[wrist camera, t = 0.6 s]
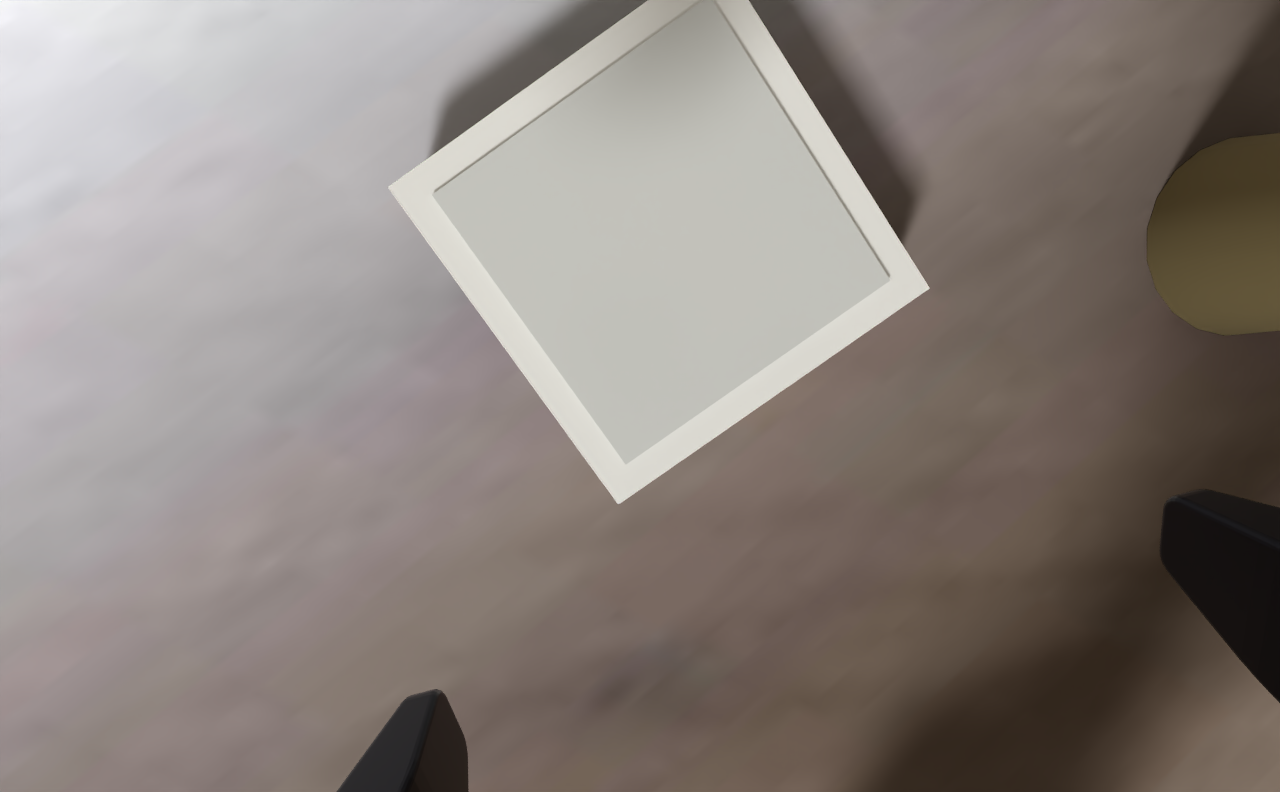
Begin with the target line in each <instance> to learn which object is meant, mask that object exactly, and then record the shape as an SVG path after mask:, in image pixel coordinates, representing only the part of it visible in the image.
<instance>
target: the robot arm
mask: <svg viewBox="0 0 1280 792" xmlns="http://www.w3.org/2000/svg"><path fill="white" fill-rule="evenodd" d="M1160 556H1161V560H1162V562H1163V565H1164V566H1165V568H1166V570H1167V571H1168V573H1169V574H1170V575H1171V576H1172V578H1173V579H1174V580H1175V581H1176V583H1177V584H1178V585H1179V586H1180V587H1181V589H1182V590H1183V591H1184V592H1185V593H1186V595H1187V596H1188V597H1189V598H1190V600H1191V601H1192V602H1193V603H1194V604H1195V606H1196V607H1197V608H1198V609H1199V610H1200V612H1201V613H1202V614H1203V615H1204V616H1205V618H1206V619H1207V620H1208V621H1209V623H1210V624H1211V625H1212V626H1213V627H1214V629H1215V630H1216V631H1217V632H1218V633H1219V635H1220V636H1221V637H1222V638H1223V640H1224V641H1225V642H1226V643H1227V644H1228V646H1229V647H1230V648H1231V649H1232V650H1233V652H1234V653H1235V654H1236V655H1237V657H1238V658H1239V659H1240V660H1241V661H1242V662H1243V664H1244V665H1245V666H1246V667H1247V668H1248V669H1249V670H1250V672H1251V673H1252V674H1253V675H1254V676H1255V677H1256V678H1257V680H1258V681H1259V682H1260V683H1261V684H1262V685H1263V686H1264V687H1265V688H1266V689H1267V690H1268V691H1269V692H1270V693H1271V694H1272V695H1273V696H1274V697H1275V698H1276V700H1277V701H1278V702H1279V703H1280V508H1279V507H1275V506H1271V505H1267V504H1263V503H1259V502H1255V501H1251V500H1247V499H1243V498H1239V497H1235V496H1231V495H1227V494H1223V493H1220V492H1216V491H1212V490H1207V489H1199V490H1194V491H1190V492H1186V493H1182V494H1178V495H1174V496H1172V497H1170V498H1169V499H1168V500H1167V501H1166V503H1165V504H1164V508H1163V517H1162V528H1161V538H1160ZM337 792H468V753H467V746H466V741H465V738H464V735H463V732H462V730H461V728H460V726H459V724H458V721H457V719H456V717H455V715H454V713H453V710H452V708H451V706H450V704H449V702H448V699H447V697H446V695H445V694H444V693H443V692H442V691H441V690H438V689H434V690H430V691H426V692H422V693H419V694H415V695H411V696H409V697H407V698H406V699H405V700H404V701H403V702H402V703H401V704H400V706H399V707H398V708H397V710H396V711H395V713H394V714H393V715H392V717H391V718H390V719H389V721H388V722H387V723H386V725H385V726H384V728H383V729H382V730H381V732H380V733H379V734H378V736H377V737H376V739H375V740H374V741H373V743H372V744H371V745H370V747H369V748H368V749H367V751H366V752H365V754H364V755H363V756H362V758H361V759H360V760H359V762H358V763H357V765H356V766H355V767H354V769H353V770H352V771H351V773H350V774H349V775H348V777H347V778H346V780H345V781H344V782H343V784H342V785H341V786H340V788H339V789H338V791H337Z"/></svg>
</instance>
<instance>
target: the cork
mask: <svg viewBox="0 0 1280 792" xmlns="http://www.w3.org/2000/svg"><path fill="white" fill-rule="evenodd" d="M1147 262H1148V265H1149V268H1150V272H1151V275H1152V278H1153V281H1154V285H1155V288H1156V290H1157V291H1158V293H1159V294H1160V295H1161V297H1162V298H1163V300H1164V301H1165V302H1166V304H1167V305H1168V306H1169V308H1170V309H1171V311H1172V312H1173V313H1174V314H1176V315H1177V316H1179V317H1180V318H1182V319H1183V320H1185V321H1186V322H1188V323H1189V324H1190V325H1192V326H1193V327H1195V328H1196V329H1200V330H1204V331H1208V332H1212V333H1216V334H1220V335H1224V336H1225V335H1237V334H1250V333H1260V332H1270V331H1280V133H1275V134H1265V135H1256V136H1247V137H1237V138H1228V139H1226V140H1224V141H1221V142H1219V143H1216V144H1214V145H1212V146H1209V147H1207V148H1204V149H1202V150H1200V151H1198V152H1197V153H1196V154H1195V155H1194V156H1192V157H1191V158H1190V159H1189V160H1188V161H1186V162H1185V163H1184V164H1183V165H1182V166H1180V167H1179V168H1178V169H1177V170H1176V171H1175V172H1174V173H1173V175H1172V176H1171V178H1170V179H1169V181H1168V182H1167V184H1166V185H1165V187H1164V188H1163V190H1162V191H1161V193H1160V194H1159V196H1158V197H1157V200H1156V203H1155V206H1154V209H1153V212H1152V216H1151V219H1150V222H1149V225H1148V228H1147Z"/></svg>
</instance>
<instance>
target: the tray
mask: <svg viewBox="0 0 1280 792" xmlns="http://www.w3.org/2000/svg"><path fill="white" fill-rule="evenodd" d="M388 188H389V190H390V191H391V193H392V194H393V195H394V197H395V198H396V199H397V201H398V202H399V204H400V205H401V206H402V208H403V209H404V210H405V212H406V213H407V215H408V216H409V217H410V219H411V220H412V221H413V223H414V224H415V226H416V227H417V228H418V230H419V231H420V232H421V234H422V235H423V237H424V238H425V239H426V241H427V242H428V243H429V245H430V246H431V248H432V249H433V250H434V252H435V253H436V254H437V256H438V257H439V259H440V260H441V261H442V263H443V264H444V265H445V267H446V268H447V270H448V271H449V272H450V274H451V275H452V276H453V278H454V279H455V281H456V282H457V283H458V285H459V286H460V287H461V289H462V290H463V292H464V293H465V294H466V296H467V297H468V298H469V300H470V301H471V303H472V304H473V305H474V307H475V308H476V309H477V311H478V312H479V314H480V315H481V316H482V318H483V319H484V320H485V322H486V323H487V325H488V326H489V327H490V329H491V330H492V331H493V333H494V334H495V336H496V337H497V338H498V340H499V341H500V342H501V344H502V345H503V347H504V348H505V349H506V351H507V352H508V353H509V355H510V356H511V358H512V359H513V360H514V362H515V363H516V364H517V366H518V367H519V369H520V370H521V371H522V373H523V374H524V376H525V377H526V378H527V380H528V381H529V382H530V384H531V385H532V387H533V388H534V389H535V391H536V392H537V393H538V395H539V396H540V398H541V399H542V400H543V402H544V403H545V404H546V406H547V407H548V409H549V410H550V411H551V413H552V414H553V415H554V417H555V418H556V420H557V421H558V422H559V424H560V425H561V426H562V428H563V429H564V431H565V432H566V433H567V435H568V436H569V437H570V439H571V440H572V442H573V443H574V444H575V446H576V447H577V448H578V450H579V451H580V453H581V454H582V455H583V457H584V458H585V459H586V461H587V462H588V464H589V465H590V466H591V468H592V469H593V470H594V472H595V473H596V475H597V476H598V477H599V479H600V480H601V481H602V483H603V484H604V486H605V487H606V488H607V490H608V491H609V492H610V494H611V495H612V497H613V498H614V499H615V501H616V502H617V503H618V504H620V503H621V502H623V501H624V500H626V499H627V498H629V497H630V496H631V495H633V494H634V493H636V492H637V491H639V490H640V489H641V488H643V487H644V486H646V485H647V484H649V483H650V482H652V481H653V480H654V479H656V478H657V477H659V476H660V475H662V474H663V473H665V472H666V471H667V470H669V469H670V468H672V467H673V466H675V465H676V464H677V463H679V462H680V461H682V460H683V459H685V458H686V457H688V456H689V455H690V454H692V453H693V452H695V451H696V450H698V449H699V448H700V447H702V446H703V445H705V444H706V443H708V442H709V441H711V440H712V439H713V438H715V437H716V436H718V435H719V434H721V433H722V432H724V431H725V430H726V429H728V428H729V427H731V426H732V425H734V424H735V423H736V422H738V421H739V420H741V419H742V418H744V417H745V416H747V415H748V414H749V413H751V412H752V411H754V410H755V409H757V408H758V407H759V406H761V405H762V404H764V403H765V402H767V401H768V400H770V399H771V398H772V397H774V396H775V395H777V394H778V393H780V392H781V391H783V390H784V389H785V388H787V387H788V386H790V385H791V384H793V383H794V382H795V381H797V380H798V379H800V378H801V377H803V376H804V375H806V374H807V373H808V372H810V371H811V370H813V369H814V368H816V367H817V366H819V365H820V364H821V363H823V362H824V361H826V360H827V359H829V358H830V357H831V356H833V355H834V354H836V353H837V352H839V351H840V350H842V349H843V348H844V347H846V346H847V345H849V344H850V343H852V342H853V341H854V340H856V339H857V338H859V337H860V336H862V335H863V334H865V333H866V332H867V331H869V330H870V329H872V328H873V327H875V326H876V325H878V324H879V323H880V322H882V321H883V320H885V319H886V318H888V317H889V316H890V315H892V314H893V313H895V312H896V311H898V310H899V309H901V308H902V307H903V306H905V305H906V304H908V303H909V302H911V301H912V300H913V299H915V298H916V297H918V296H919V295H921V294H922V293H924V292H925V291H926V290H928V289H929V286H928V285H927V283H926V282H925V280H924V278H923V277H922V275H921V274H920V272H919V270H918V269H917V267H916V266H915V264H914V263H913V261H912V259H911V258H910V256H909V255H908V253H907V251H906V250H905V248H904V247H903V245H902V243H901V242H900V240H899V239H898V237H897V235H896V234H895V232H894V231H893V229H892V228H891V226H890V224H889V223H888V221H887V220H886V218H885V216H884V215H883V213H882V212H881V210H880V208H879V207H878V205H877V204H876V202H875V200H874V199H873V197H872V196H871V194H870V193H869V191H868V189H867V188H866V186H865V185H864V183H863V181H862V180H861V178H860V177H859V175H858V173H857V172H856V170H855V169H854V167H853V165H852V164H851V162H850V161H849V159H848V158H847V156H846V154H845V153H844V151H843V150H842V148H841V146H840V145H839V143H838V142H837V140H836V138H835V137H834V135H833V134H832V132H831V130H830V129H829V127H828V126H827V124H826V123H825V121H824V119H823V118H822V116H821V115H820V113H819V111H818V110H817V108H816V107H815V105H814V103H813V102H812V100H811V99H810V97H809V95H808V94H807V92H806V91H805V89H804V87H803V86H802V84H801V83H800V81H799V80H798V78H797V76H796V75H795V73H794V72H793V70H792V68H791V67H790V65H789V64H788V62H787V60H786V59H785V57H784V56H783V54H782V52H781V51H780V49H779V48H778V46H777V45H776V43H775V41H774V40H773V38H772V37H771V35H770V33H769V32H768V30H767V29H766V27H765V25H764V24H763V22H762V21H761V19H760V17H759V16H758V14H757V13H756V11H755V10H754V8H753V6H752V5H751V3H750V2H749V0H648V1H646V2H645V3H643V4H642V5H641V6H639V7H638V8H636V9H635V10H634V11H632V12H631V13H629V14H628V15H627V16H625V17H624V18H622V19H621V20H620V21H618V22H617V23H616V24H614V25H613V26H611V27H610V28H609V29H607V30H606V31H604V32H603V33H602V34H600V35H599V36H597V37H596V38H595V39H593V40H592V41H590V42H589V43H588V44H586V45H585V46H584V47H582V48H581V49H579V50H578V51H577V52H575V53H574V54H572V55H571V56H570V57H568V58H567V59H565V60H564V61H563V62H561V63H560V64H558V65H557V66H556V67H554V68H553V69H552V70H550V71H549V72H547V73H546V74H545V75H543V76H542V77H540V78H539V79H538V80H536V81H535V82H533V83H532V84H531V85H529V86H528V87H527V88H525V89H524V90H522V91H521V92H520V93H518V94H517V95H515V96H514V97H513V98H511V99H510V100H508V101H507V102H506V103H504V104H503V105H501V106H500V107H499V108H497V109H496V110H495V111H493V112H492V113H490V114H489V115H488V116H486V117H485V118H483V119H482V120H481V121H479V122H478V123H476V124H475V125H474V126H472V127H471V128H469V129H468V130H467V131H465V132H464V133H463V134H461V135H460V136H458V137H457V138H456V139H454V140H453V141H451V142H450V143H449V144H447V145H446V146H444V147H443V148H442V149H440V150H439V151H437V152H436V153H435V154H433V155H432V156H431V157H429V158H428V159H426V160H425V161H424V162H422V163H421V164H419V165H418V166H417V167H415V168H414V169H412V170H411V171H410V172H408V173H407V174H405V175H404V176H403V177H401V178H400V179H399V180H397V181H396V182H394V183H393V184H392V185H390V186H389V187H388Z"/></svg>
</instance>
